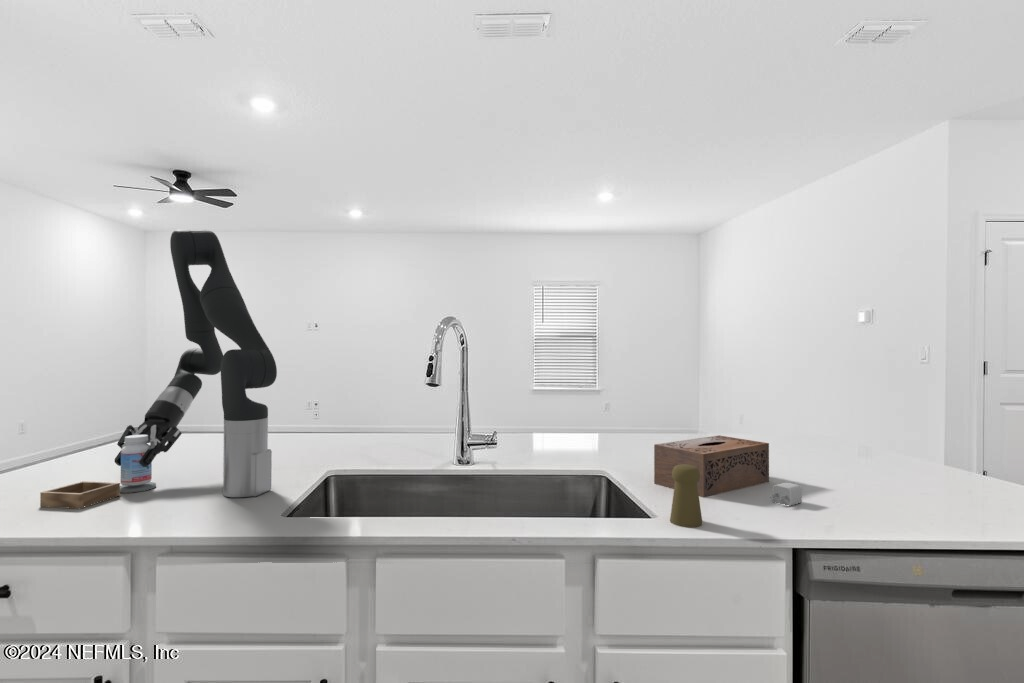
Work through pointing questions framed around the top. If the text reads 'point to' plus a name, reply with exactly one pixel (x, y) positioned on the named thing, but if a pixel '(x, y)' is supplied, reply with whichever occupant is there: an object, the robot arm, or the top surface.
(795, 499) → the usb wall charger
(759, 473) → the tissue box cover
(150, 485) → the slate coaster
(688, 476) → the cork
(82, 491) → the wooden tray
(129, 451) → the pill bottle
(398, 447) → the top surface
